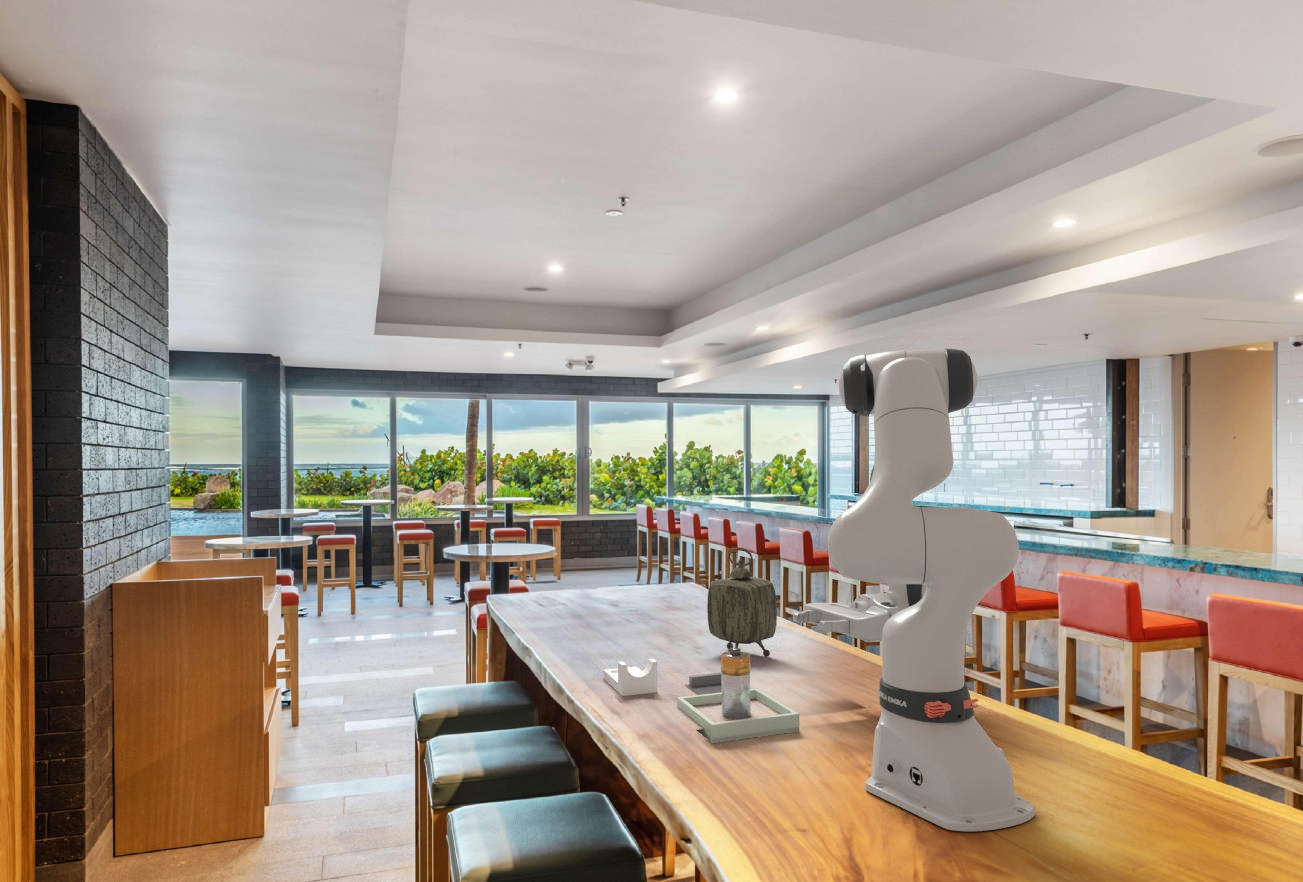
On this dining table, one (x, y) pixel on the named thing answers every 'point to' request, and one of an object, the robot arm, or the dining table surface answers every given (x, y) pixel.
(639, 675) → the bracket
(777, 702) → the tray
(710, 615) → the tabletop clock
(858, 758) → the dining table surface
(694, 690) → the block
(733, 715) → the battery cell
